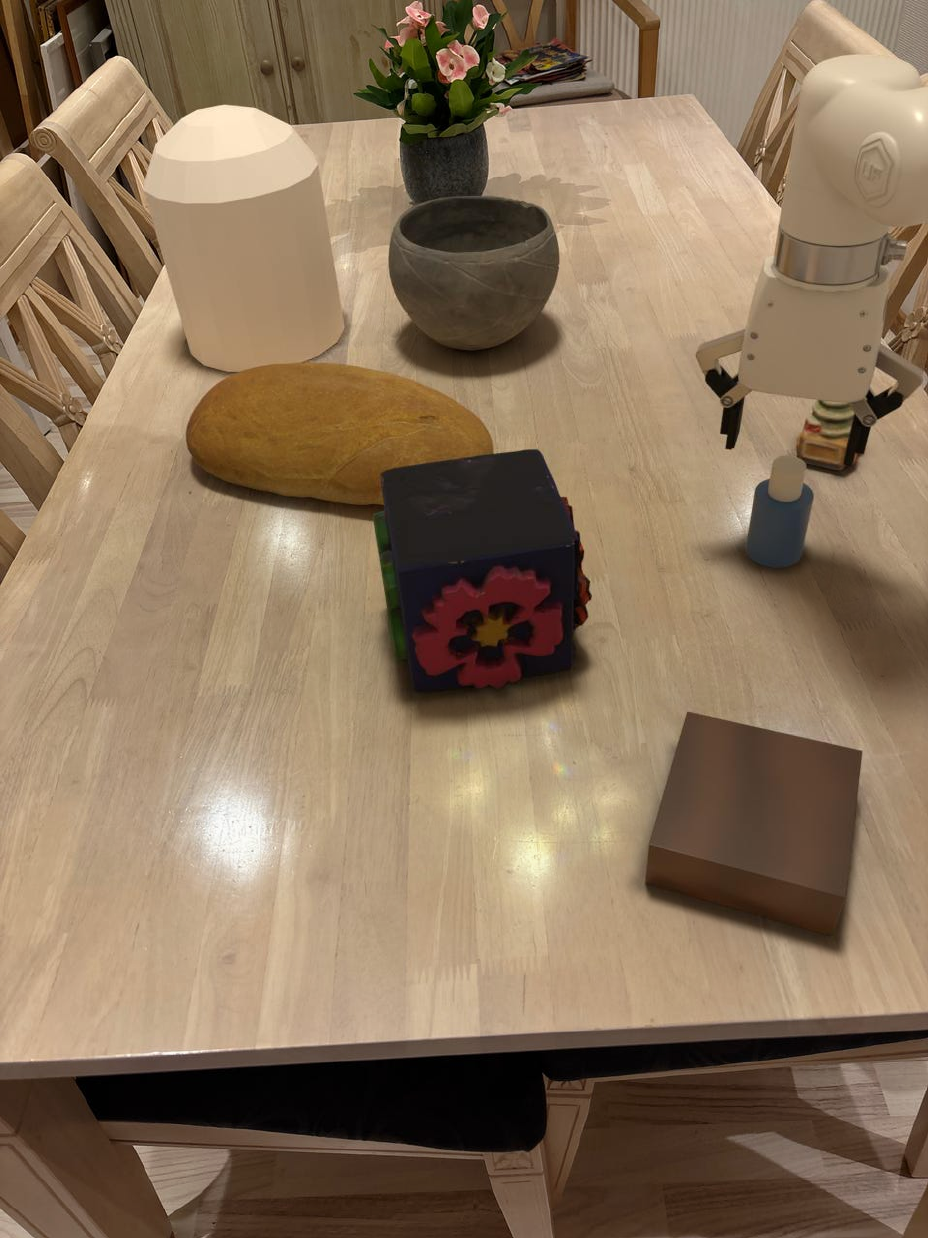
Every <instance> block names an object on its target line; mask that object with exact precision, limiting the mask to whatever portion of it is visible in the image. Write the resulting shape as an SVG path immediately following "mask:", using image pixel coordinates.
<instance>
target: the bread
mask: <svg viewBox="0 0 928 1238" xmlns="http://www.w3.org/2000/svg"><path fill="white" fill-rule="evenodd" d="M492 439H493V438H492V436H491V433H490V432H489V429H488V428H487V426H486V425H485V423H484V422H483V421H482V419H480V418H479V417H478V416H477V415H476V414H475V413H474V412H473V411H471V410H470V409H468V408H467V407H465V406H464V405H462V404H461V403H460V402H458V401H457V400H455V399H454V398H453V397H450V396H448V395H447V394H444V393H443V392H441V391H439V390H438V389H435V388H432V387H430V386H427V385H425V384H422V383H420V382H418V381H416V380H413V379H411V378H408V377H404V376H401V375H398V374H394V373H390V372H385V371H382V370H381V371H380V370H377V369H371V368H367V367H361V366H358V365H350V364H344V363H330V362H307V361H304V362H301V363H288V364H271V365H265V366H259V367H254V368H251V369H247V370H244V371H241V372H234V373H233V374H231V375H229V376H227V377H225V378H224V379H222V380H220V381H219V382H217V383H215V385H213V386H212V387H211V388H209V390H208V391H207V392H206V393H205V394H204V395H203V397H201V399H200V401H199V402H198V404H197V405H196V406H195V408H194V410H193V411H192V413H191V414H190V417H189V420H188V422H187V425H186V430H185V441H186V446H187V450H188V452H189V454H190V455H191V458H192V459H193V461H195V463H196V464H197V465H198V466H199V467H200V468H202V469H203V470H204V471H205V472H207V473H209V474H210V475H212V476H214V477H216V478H218V479H220V480H221V481H223V482H227V483H229V484H233V485H236V486H241V487H246V488H249V489H253V490H256V491H263V492H270V493H273V494H276V495H279V496H283V497H297V498H300V499H301V498H313V499H318V500H322V501H326V502H333V503H341V504H348V505H349V504H350V505H356V506H367V505H372V504H375V505H382V506H384V501H383V494H382V487H381V473H382V472H384V471H385V470H389V469H393V468H398V467H404V466H411V465H417V464H424V463H430V462H437V461H444V460H452V459H459V458H466V457H474V456H478V455H487V454H495V453H494V443H493V440H492Z"/></svg>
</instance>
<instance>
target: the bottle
mask: <svg viewBox="0 0 928 1238" xmlns="http://www.w3.org/2000/svg"><path fill="white" fill-rule="evenodd" d="M806 471H807V463H805V462H804V461H803V460H802V459H800V458H799V457H797V456H793V455H782V456H778V457H776V458H775V459H774V460H773V461H772V464H771V471H770V476H769V478H767V479H765V480H762V481H760V482H759V483H758V484H757V485H756V486H755V489H754V493H753V499H752V506H751V513H750V518H749V525H748V531H747V537H746V542H745V552H746V555H747V556H748V558H749V559H750V560H751V561H753V562H754V563H756V564H757V565H760V566H763V567H766V568H774V569H783V568H788V567H791V566H793V565H795V564H797V563H798V562H799V561H800V560H801V558H802V555H803V551H804V546H805V541H806V537H807V533H808V527H809V523H810V519H811V518H810V517H811V513H812V509H813V503H814V499H815V494H814V491H813V490H812V488H811V487H810V486H809V485H807V484H806V483H805V476H806Z"/></svg>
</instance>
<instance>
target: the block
mask: <svg viewBox="0 0 928 1238" xmlns="http://www.w3.org/2000/svg"><path fill="white" fill-rule="evenodd" d="M862 760H863V750H860V749H856V748H852V747H846V746H843V745H838V744H833V743H829V742H825V741H821V740H816V739H812V738H808V737H803V736H798V735H794V734H789V733H785V732H781V731H776V730H772V729H767V728H764V727H759V726H755V725H749V724H746V723H740V722H736V721H732V720H728V719H722V718H719V717H714V716H709V715H706V714H702V713H701V714H700V713H696V712H692V711H686V715H685V718H684V721H683V724H682V728H681V732H680V735H679V738H678V741H677V746H676V748H675V752H674V756H673V759H672V763H671V766H670V770H669V773H668V775H667V776H668V777H667V781H666V783H665V787H664V789H663V790H664V791H663V793H662V798H661V800H660V804H659V808H658V811H657V815H656V818H655V822H654V825H653V828H652V831H651V835H650V839H649V842H648V849H647V859H646V868H645V879H644V883H645V884H647V885H651V886H654V887H657V888H661V889H665V890H667V891H672V892H675V893H679V894H682V895H686V896H689V897H693V898H697V899H700V900H704V901H706V902H709V903H714V904H718V905H721V906H725V907H728V908H731V909H734V910H738V911H742V912H745V913H749V914H753V915H755V916H759V917H763V918H765V919H766V918H767V919H771V920H774V921H778V922H781V923H784V924H788V925H791V926H794V927H799V928H802V929H806V930H809V931H813V932H816V933H818V934H819V933H820V934H824V935H826V936H830V937H832V936H833V934H834V933H835V929H836V926H837V924H838V921H839V918H840V915H841V912H842V911H843V910H842V909H843V906H844V905H845V901H846V899H847V891H848V882H849V874H850V864H851V856H852V847H853V839H854V829H855V822H856V813H857V804H858V795H859V794H858V793H859V786H860V777H861V769H862V768H861V767H862Z"/></svg>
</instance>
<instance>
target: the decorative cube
mask: <svg viewBox="0 0 928 1238" xmlns="http://www.w3.org/2000/svg"><path fill="white" fill-rule="evenodd" d="M381 487H382V494H383V501H384V505H383V507H384V510H381V511H377V512H376V513H373V518H372V521H373V527H374V534H375V541H376V547H377V553H378V558H379V559H378V560H379V565H380V573H381V578H382V585H383V592H384V598H385V604H386V611H387V621H388V625H389V631H390V638H391V644H392V650H393V655H394V658H395V659H396V660H407V664H408V668H409V670H408V671H409V676H410V681H411V686H412V688H413V691H414V692H415V693H430V692H437V691H445V690H452V689H460V688H466V687H473V686H474V687H475V688H477V689H478V690H481V689H484V688H485V687H487V686H491V687H492V688H493V689H496V690H500V689H501V688H502V687H503V686H504V685H505V684H506V683H509V682H510V683H515V682H518V681H520V679H521V678H527V677H534V676H539V675H541V676H542V675H547V674H552V673H556V672H562V671H567V670H570V669H571V670H572V669H573V666H574V659H575V657H576V654H575V650H576V645H575V642H574V631H576V630H577V628H579V627H582V626H583V625H584V624H585V622H586V621H587V620H588V618H589V612H588V608H587V606H586V605H587V604H588V603H589V601H592V597H593V595H592V592H591V591H590V587H591V580H590V579H589V578H588V577H587V576H586V574H584V570H583V565H582V563H583V561H584V559H585V558H584V557H585V549H584V546H583V544H582V542H581V533H580V531H579V530H576V527H575V521H574V510H573V506H572V505H570V504H569V499H568V497H567V496H561V494H560V492H559V490H558V487H557V484H556V481H555V479H554V477H553V474H552V473H551V471H550V468H549V466H548V464H547V462H546V459H545V457H544V455H543V453H542V451H540V450H539V449H538V448H532V449H531V448H527V449H520V450H514V451H505V452H497V453H496V452H495V453H494V454H487V455H478V456H474V457H466V458H459V459H452V460H444V461H437V462H430V463H424V464H417V465H411V466H404V467H398V468H393V469H389V470H385V471H384V472H382V473H381Z"/></svg>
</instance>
